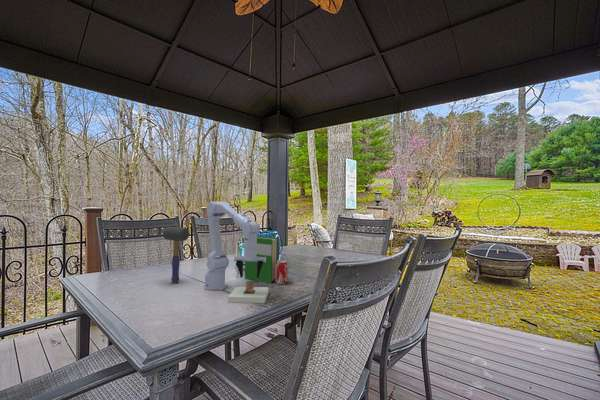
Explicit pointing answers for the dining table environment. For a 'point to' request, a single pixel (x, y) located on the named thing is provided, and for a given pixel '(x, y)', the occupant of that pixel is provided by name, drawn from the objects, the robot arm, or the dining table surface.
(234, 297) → the sage board
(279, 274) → the soda can
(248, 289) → the oak peg
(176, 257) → the rubber mallet
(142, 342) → the dining table surface
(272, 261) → the hardback book
